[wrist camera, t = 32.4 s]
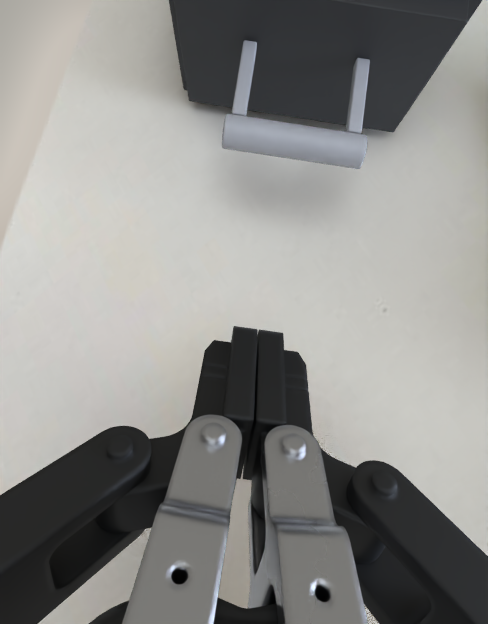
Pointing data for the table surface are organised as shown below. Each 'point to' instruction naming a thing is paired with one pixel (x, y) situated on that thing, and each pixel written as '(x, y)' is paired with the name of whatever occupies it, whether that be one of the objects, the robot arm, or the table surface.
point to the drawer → (313, 67)
